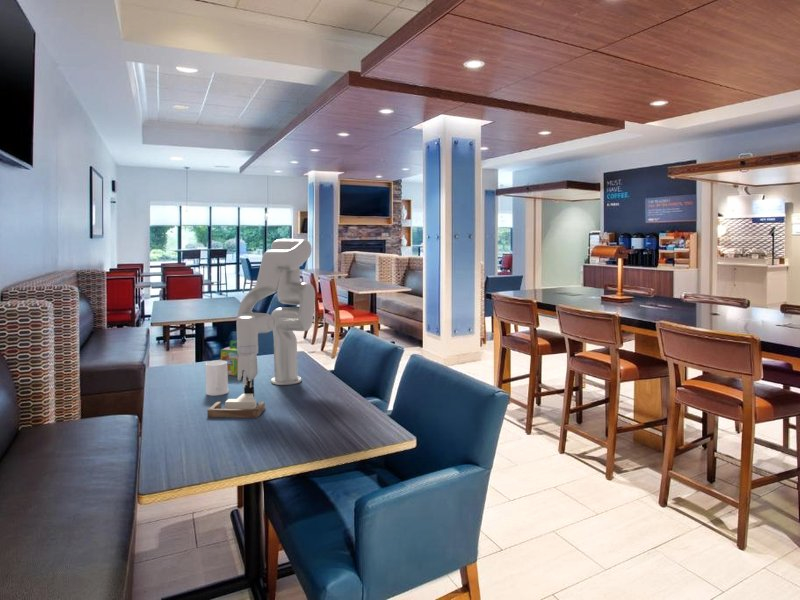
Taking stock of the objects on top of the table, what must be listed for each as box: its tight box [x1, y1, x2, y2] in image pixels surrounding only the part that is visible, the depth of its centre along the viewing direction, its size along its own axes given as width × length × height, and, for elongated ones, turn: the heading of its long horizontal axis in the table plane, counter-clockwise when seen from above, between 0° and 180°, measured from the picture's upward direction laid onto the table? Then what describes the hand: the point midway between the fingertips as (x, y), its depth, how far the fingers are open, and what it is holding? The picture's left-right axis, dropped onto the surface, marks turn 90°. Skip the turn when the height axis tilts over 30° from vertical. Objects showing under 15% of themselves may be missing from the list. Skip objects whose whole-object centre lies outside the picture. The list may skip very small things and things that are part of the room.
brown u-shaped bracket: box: [206, 401, 265, 419], centre depth 182 cm, size 9×17×2 cm, turn 89°
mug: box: [205, 359, 230, 396], centre depth 204 cm, size 12×8×12 cm
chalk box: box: [220, 340, 239, 377], centre depth 234 cm, size 9×9×15 cm
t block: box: [224, 393, 258, 409], centre depth 189 cm, size 10×10×3 cm
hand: (249, 397), depth 196 cm, fingers closed
